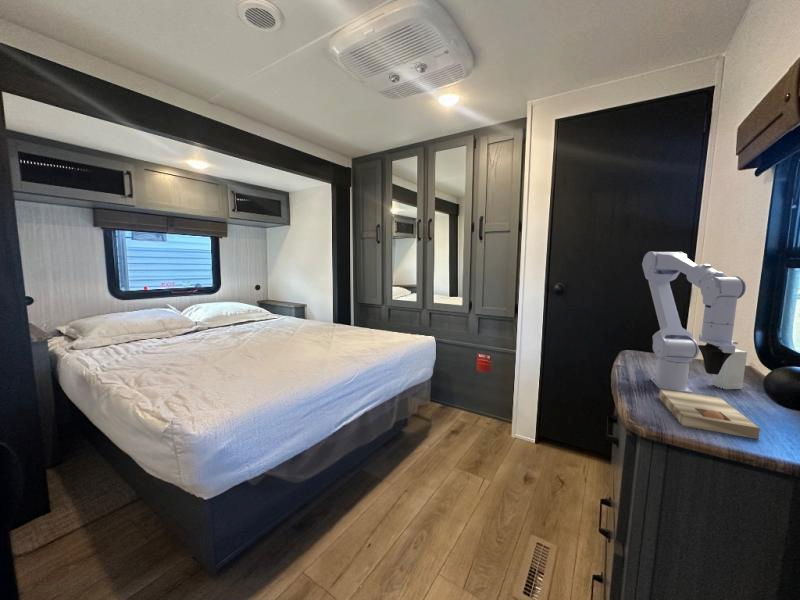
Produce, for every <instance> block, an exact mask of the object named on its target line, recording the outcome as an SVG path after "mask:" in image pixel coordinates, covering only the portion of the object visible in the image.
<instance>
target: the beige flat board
mask: <svg viewBox="0 0 800 600" xmlns="http://www.w3.org/2000/svg"><path fill="white" fill-rule="evenodd" d="M658 394H659V395H658V399H660V401H661V402H662V403H663V405H664V406H665V407H666V408H667V409H668V410H669V411H670V412H672V413H671V415H673V416H674V417H675V418H677V419H678V420H677V419H676V420H677V421H678V422H679V423H680V425H681V424H682V425H681V426H683V427H688V428H694V429H700V430H705V431H710V432H715V433H722V434H729V435H733V436H738V437H739V436H740V437H745V438H750V439H757V440H759V437H760V431H761V428H760V426H758V425H756V424H755V423H754V422H752V421H751V420H750V419H749V418H747V417H746V416H745V415H743V414H742V413H741V412H739V411H738V410H737V409H736V408H734V407H733V406H732V405H730V404H729V403H727V401H725V400H724V399H722V398H721V397H717V396H710V395H702V394H697V393H687V392H680V391H673V390H666V389H660V388H659V393H658ZM708 410H714V411H717V412H719V413H720V414H721V415H722V416H723V418H724V420H721V419H715V418H709V417H703V413H704V412H705V411H708Z"/></svg>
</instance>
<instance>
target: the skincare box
mask: <svg viewBox="0 0 800 600" xmlns="http://www.w3.org/2000/svg"><path fill="white" fill-rule="evenodd" d="M747 357H748V351H746V350H741V349H737V348H735V354H733V353H732V355H730V356H729V357H728V358H727V360H726V361H725V362H724V364H723V366H722V368H721V370H720V372H719V374H718V375H716V374H712V378H711V385H712V386H713V385H715V386H714V387H716V386H717V387H716V388H719V387H720V388H719V389H722V388H723V389H722V390H741V389H743V385H744V377H745V370H746V362H747Z"/></svg>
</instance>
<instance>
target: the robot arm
mask: <svg viewBox="0 0 800 600" xmlns="http://www.w3.org/2000/svg"><path fill="white" fill-rule="evenodd" d="M641 266H642V271H643V274H644V277H645V279H646V280H647V281H648V286H649V289H650V293H651V297H652V302H653V305H654V309H655V314H656V317H657V320H658V325H659V330H658V331H656V332H655V333H654V334H653V335H652V351H653V353H654V354H655V356H656V357H657V359H656V361H655V368H654V369H655V370H654V377H650V380H651V381H652V383H653V384H655V386H656V387H657V388H658V389H659V390H660V389H662V390H669V391H676V392H683V393H690V394H693V391H692V390H691V389H690V388H688V387H687V386H688V378H689V372H690V371H689V368H690V363H692V362H693V361H694V360H695V359H697V358H698V356H699V354H700V353H701V355H702V359H703V365H704V371H705V373H706V374H709V375H713V374H716V375H718V374H719V372H720V370H721V368H722V366H723V364H724V362H725V361H726V360H727V358H728V357H729V356H730V355H732V353H733V354H735V349H736V347H737V346H736V345H738V343H739V342H738V341H737V340H733V332H734V325H735V317H736V310H737V304H738V303H737V302H738V299H741V298H742V297H743V296H744V295H745V293H746V290H747V289H746V288H747V284H746V282H745V281H744V279H742V278H741V277H740V276H739V275H738V276H735V275H734V276H727V275H726V274H725V272H723V271H718V270H716V269H714V268H713V265H711V264H709V263H703V264H696V262H693V261H692V260H691V259H690V258H688V254H687V253H684V252H683V251H651V250H650V251H648V252H647V253H645V254H644V256H643V259H642V263H641ZM680 273H682V274H684V275H685V276H686V280H687V281H688V282H689V283H691V284H692V285H694V286H695V287H697V288H698V289H700V294H701V295H702V303H703V305H704V310H703V311H704V313H703V319H702V329H701V333H700V334H699V335H698V341H699V342H701V343H706V344H705V345H703V344H698V342H697V340H695V338H694V335H693V333H692V332H690V331H689V330H687V329H686V328H683V327H682V324H681V323H682V322H681V319H680V316H679V312H678V310H677V306H676V302H675V298H674V294H673V291H672V288H671V284H670V282H672V281H674V280H676V279H678V276H679V275H680Z"/></svg>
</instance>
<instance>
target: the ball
mask: <svg viewBox="0 0 800 600" xmlns="http://www.w3.org/2000/svg"><path fill="white" fill-rule="evenodd" d="M703 417H709V418H715V419H721V420H724V418H723V416H722V415H721V414H720V413H719V412H717V411H714V410H708V411H705V412H704V413H703Z"/></svg>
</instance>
